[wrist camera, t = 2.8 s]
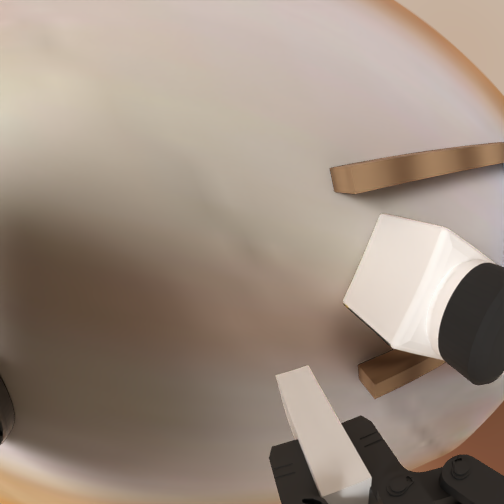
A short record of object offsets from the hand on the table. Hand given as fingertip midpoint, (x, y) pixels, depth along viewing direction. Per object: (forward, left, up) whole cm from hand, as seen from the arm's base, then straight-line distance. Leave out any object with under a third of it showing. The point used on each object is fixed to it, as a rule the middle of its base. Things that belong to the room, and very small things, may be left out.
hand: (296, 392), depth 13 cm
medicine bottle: (+11, 0, -8) cm, 14 cm away
